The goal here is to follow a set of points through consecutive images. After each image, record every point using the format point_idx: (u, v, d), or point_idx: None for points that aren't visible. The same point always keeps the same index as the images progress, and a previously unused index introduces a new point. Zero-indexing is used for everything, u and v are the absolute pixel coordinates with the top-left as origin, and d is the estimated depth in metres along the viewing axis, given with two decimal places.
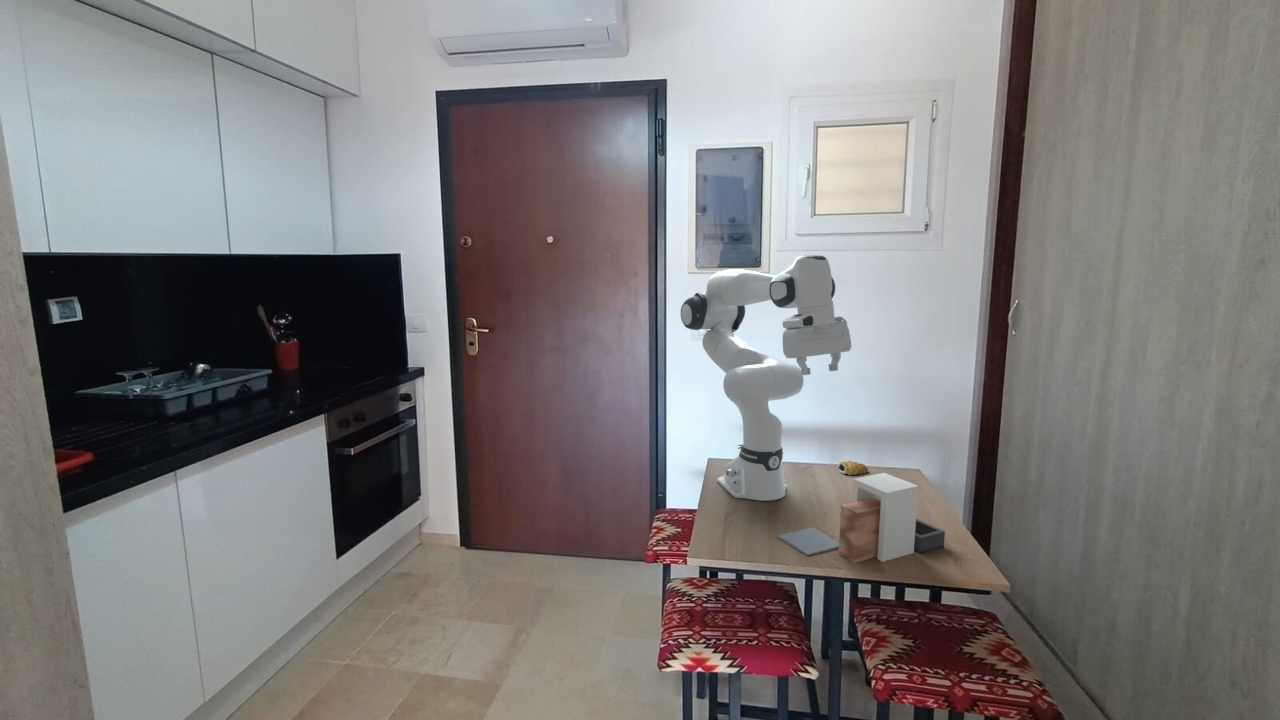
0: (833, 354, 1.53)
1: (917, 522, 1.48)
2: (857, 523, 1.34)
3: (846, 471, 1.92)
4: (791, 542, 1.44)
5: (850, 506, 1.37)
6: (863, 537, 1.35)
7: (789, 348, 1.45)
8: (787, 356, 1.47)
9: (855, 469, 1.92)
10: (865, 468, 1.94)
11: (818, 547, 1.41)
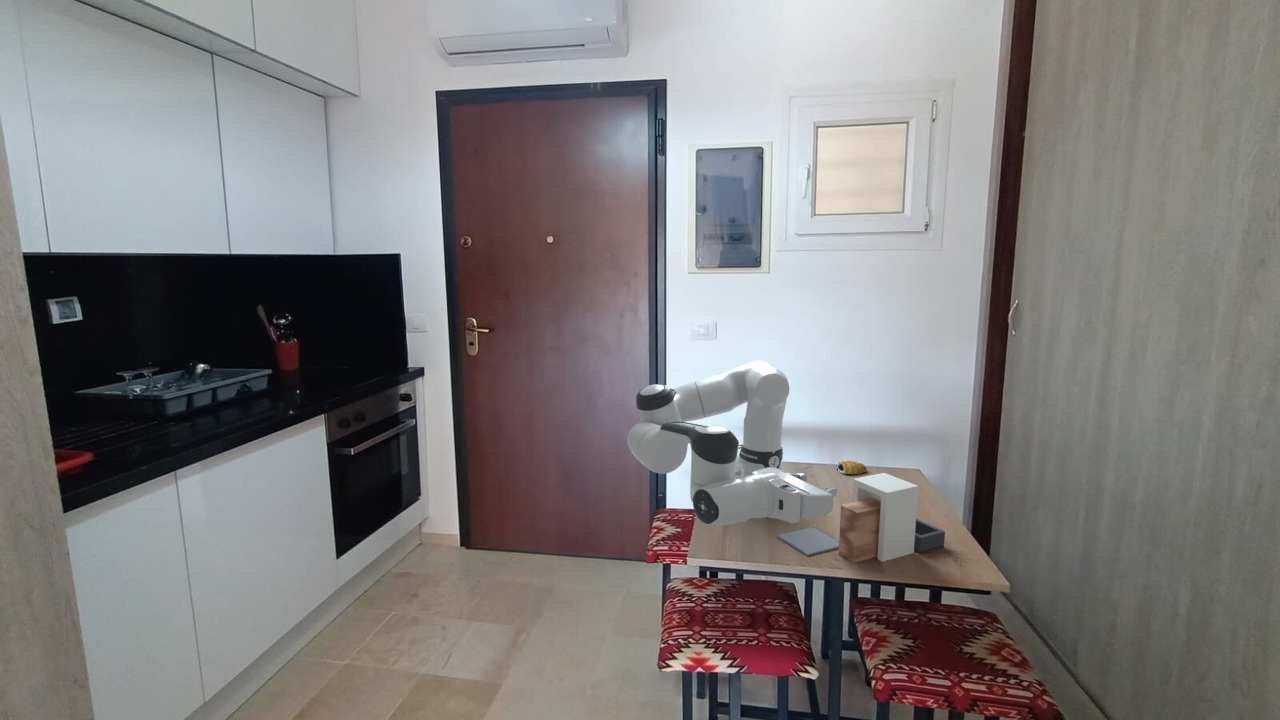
0: None
1: (917, 522, 1.48)
2: (857, 523, 1.34)
3: (845, 471, 1.92)
4: (791, 542, 1.44)
5: (850, 506, 1.37)
6: (863, 537, 1.35)
7: (825, 502, 1.18)
8: (832, 507, 1.20)
9: (854, 469, 1.93)
10: (864, 468, 1.95)
11: (818, 547, 1.41)
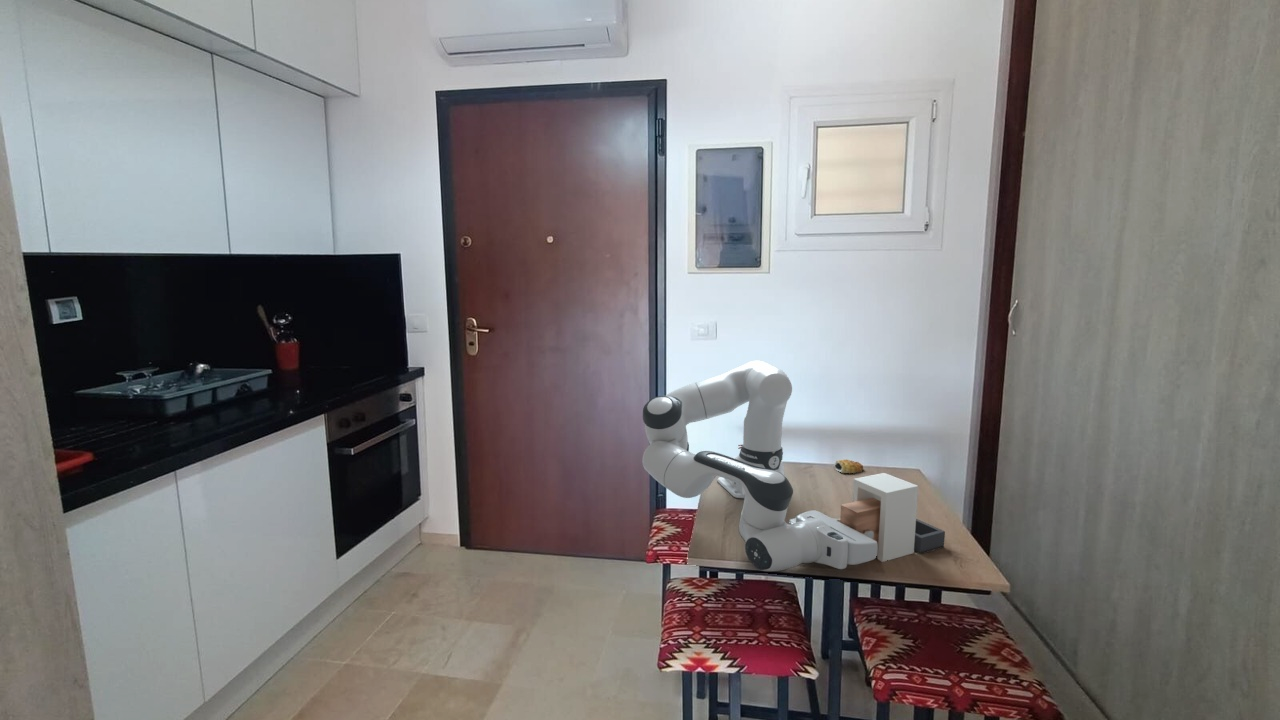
0: None
1: (917, 522, 1.48)
2: (857, 522, 1.34)
3: (843, 470, 1.93)
4: None
5: (850, 505, 1.37)
6: None
7: (871, 549, 1.26)
8: None
9: (852, 467, 1.94)
10: (861, 466, 1.96)
11: None
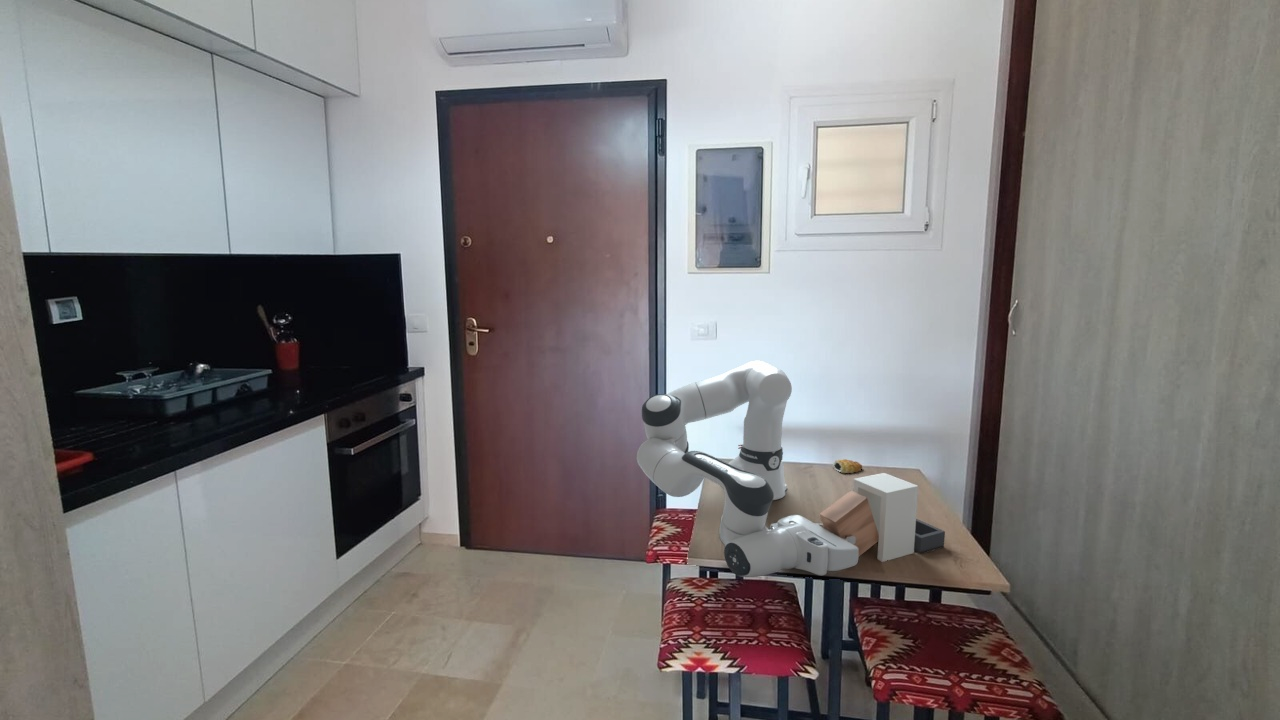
0: None
1: (917, 522, 1.48)
2: (838, 530, 1.31)
3: (843, 470, 1.94)
4: None
5: (828, 512, 1.34)
6: None
7: (851, 555, 1.24)
8: None
9: (851, 467, 1.94)
10: (860, 466, 1.96)
11: None
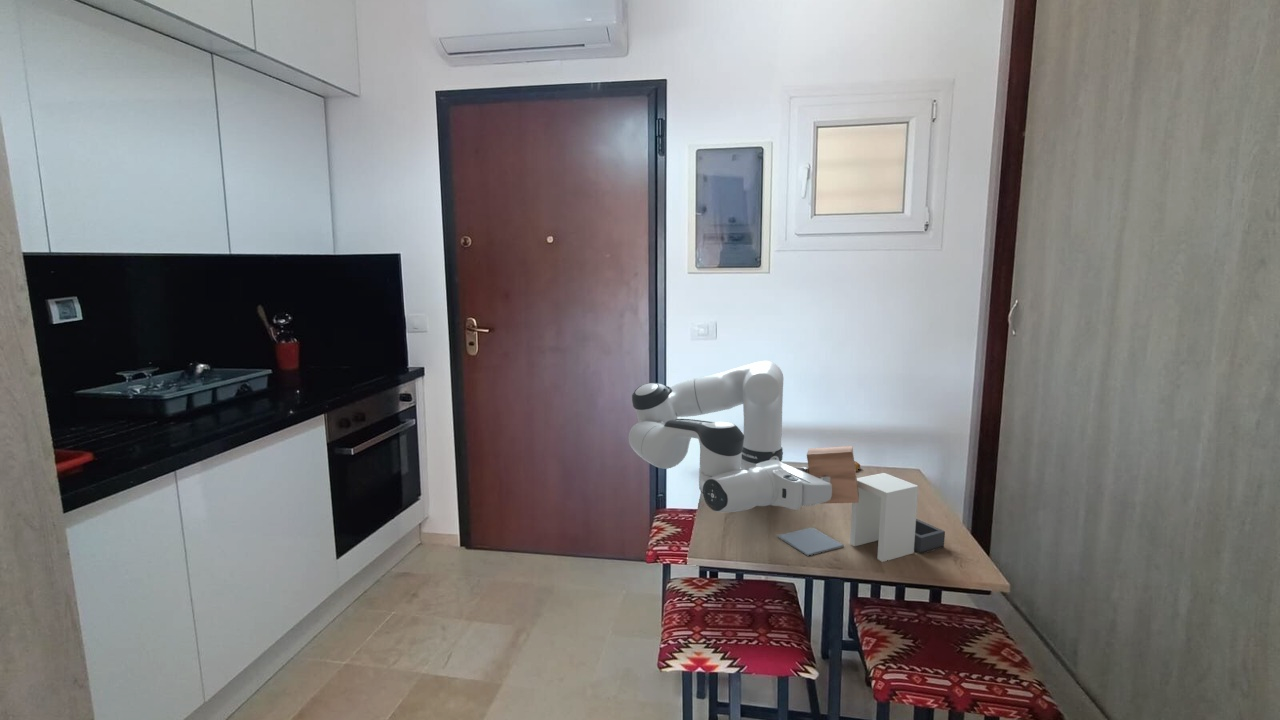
0: None
1: (917, 522, 1.48)
2: (808, 464, 1.39)
3: None
4: (791, 542, 1.44)
5: (814, 449, 1.42)
6: None
7: (825, 490, 1.28)
8: (831, 495, 1.30)
9: None
10: (858, 465, 1.97)
11: (818, 547, 1.41)
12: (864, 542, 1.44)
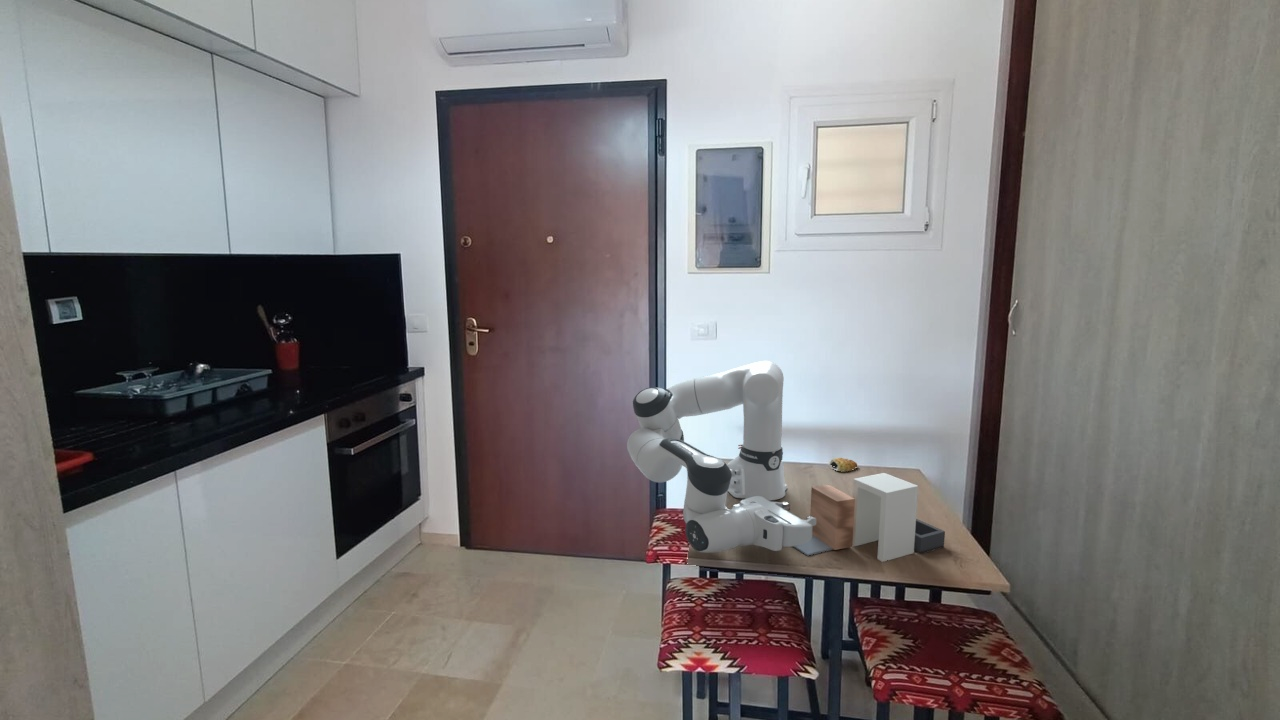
0: None
1: (917, 522, 1.48)
2: (811, 496, 1.48)
3: (840, 468, 1.95)
4: None
5: (827, 487, 1.47)
6: (816, 514, 1.46)
7: (805, 532, 1.31)
8: None
9: (847, 466, 1.96)
10: (856, 464, 1.98)
11: (818, 547, 1.41)
12: (864, 542, 1.44)
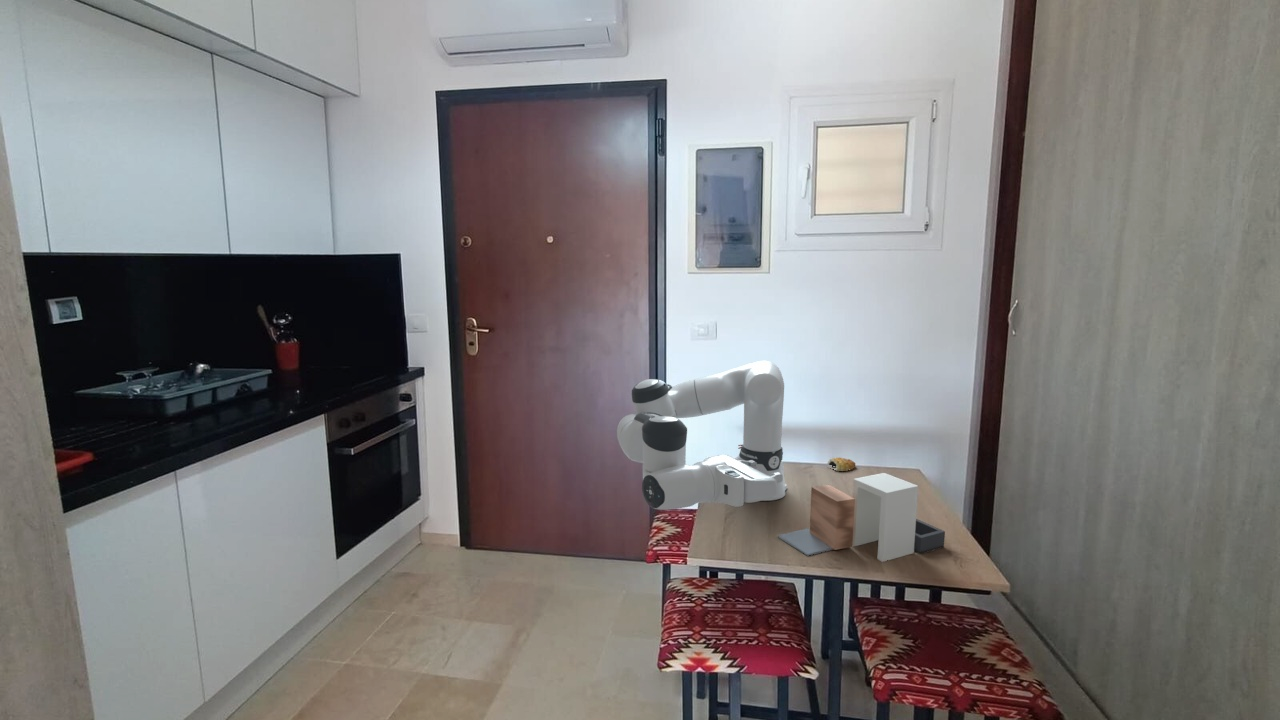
0: None
1: (917, 522, 1.48)
2: (811, 496, 1.48)
3: (838, 468, 1.95)
4: (791, 542, 1.44)
5: (827, 487, 1.47)
6: (816, 514, 1.46)
7: (768, 486, 1.23)
8: (776, 491, 1.24)
9: (846, 465, 1.96)
10: (854, 463, 1.99)
11: (818, 547, 1.41)
12: (864, 542, 1.44)
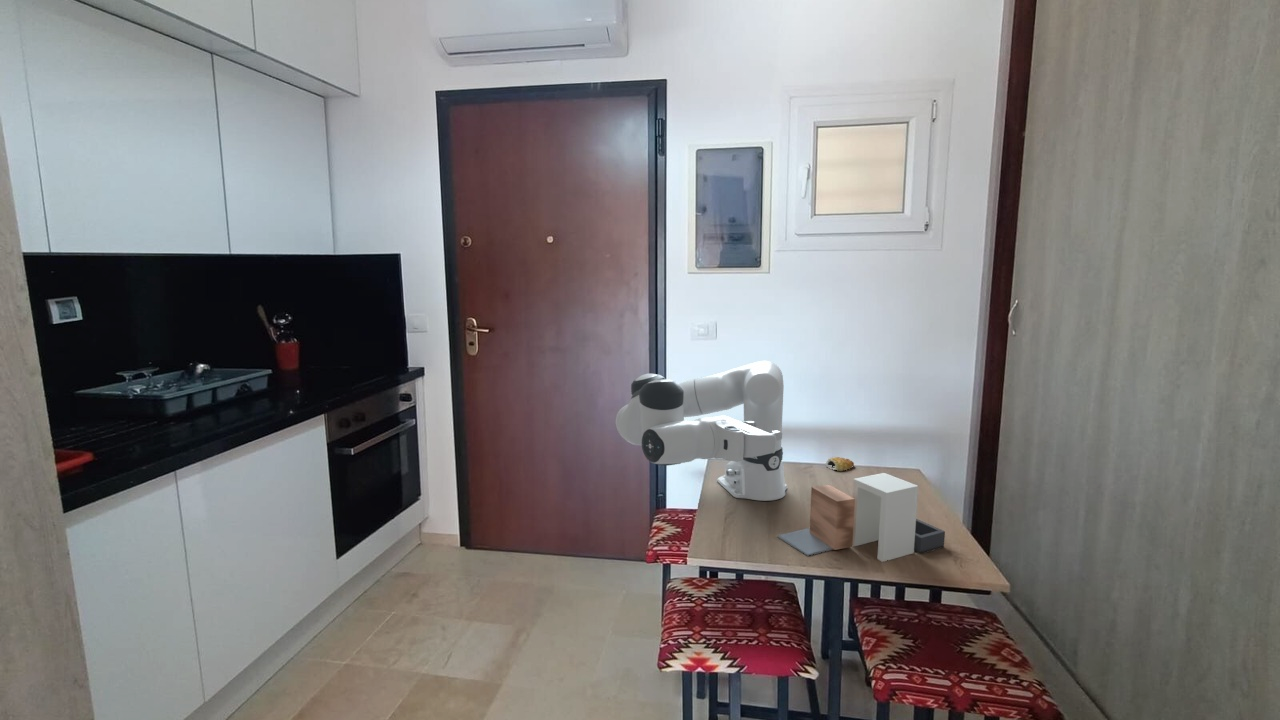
0: None
1: (917, 522, 1.48)
2: (811, 496, 1.48)
3: (837, 467, 1.96)
4: (791, 542, 1.44)
5: (827, 487, 1.47)
6: (816, 514, 1.46)
7: (768, 442, 1.23)
8: (775, 447, 1.24)
9: (845, 465, 1.97)
10: (852, 463, 1.99)
11: (818, 547, 1.41)
12: (864, 542, 1.44)
